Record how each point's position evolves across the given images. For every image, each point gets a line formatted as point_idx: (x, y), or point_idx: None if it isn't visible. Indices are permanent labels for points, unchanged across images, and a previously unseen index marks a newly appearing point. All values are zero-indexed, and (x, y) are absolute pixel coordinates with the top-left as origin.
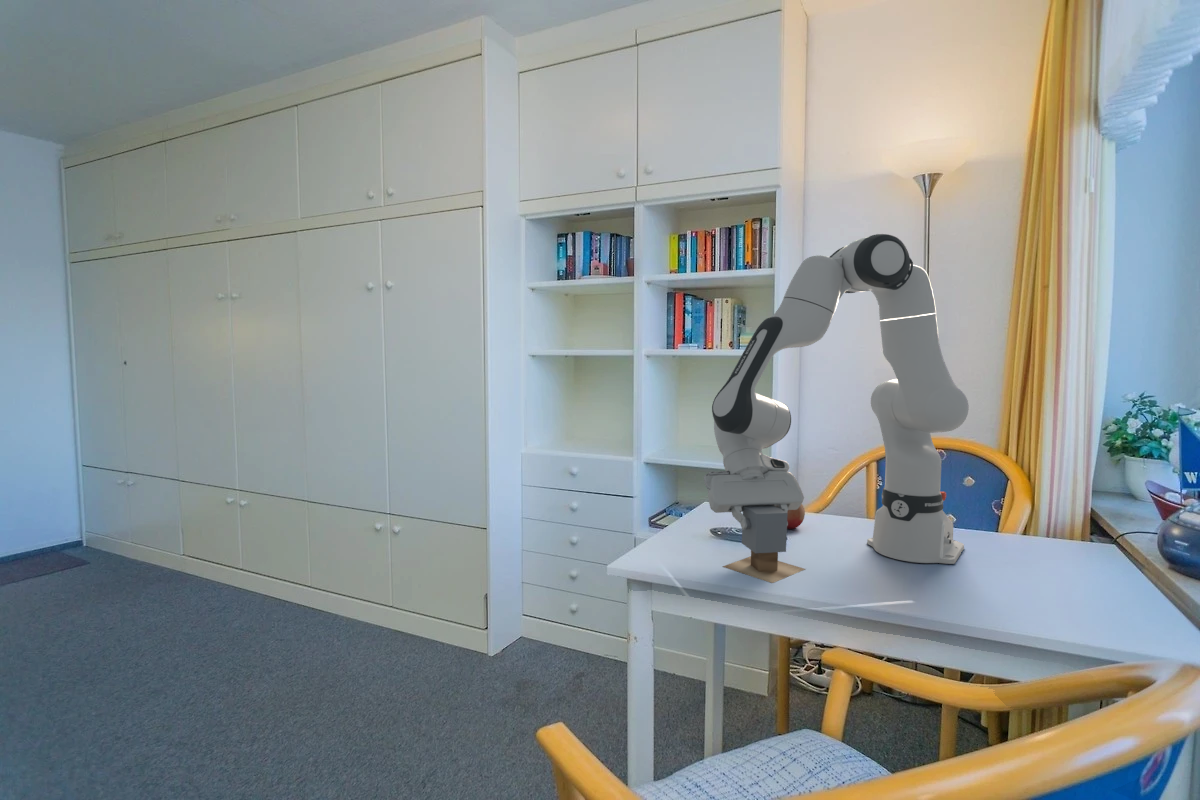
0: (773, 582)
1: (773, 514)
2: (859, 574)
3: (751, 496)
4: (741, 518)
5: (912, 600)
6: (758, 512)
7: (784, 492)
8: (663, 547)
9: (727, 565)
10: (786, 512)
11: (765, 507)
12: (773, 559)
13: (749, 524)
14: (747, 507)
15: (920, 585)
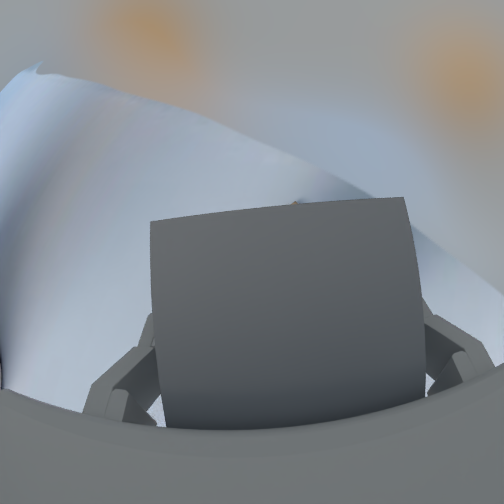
0: (291, 204)
1: (270, 208)
2: (62, 259)
3: (406, 470)
4: (437, 320)
5: (71, 136)
6: (385, 238)
7: (41, 477)
8: None
9: None
10: (152, 233)
11: (264, 406)
12: None
13: None
14: (414, 395)
15: (22, 199)
